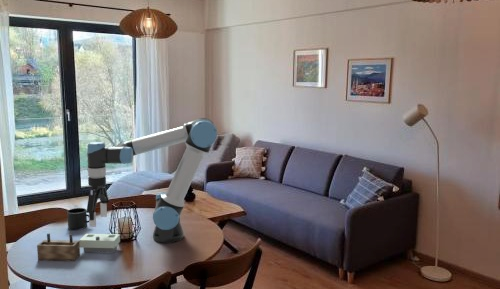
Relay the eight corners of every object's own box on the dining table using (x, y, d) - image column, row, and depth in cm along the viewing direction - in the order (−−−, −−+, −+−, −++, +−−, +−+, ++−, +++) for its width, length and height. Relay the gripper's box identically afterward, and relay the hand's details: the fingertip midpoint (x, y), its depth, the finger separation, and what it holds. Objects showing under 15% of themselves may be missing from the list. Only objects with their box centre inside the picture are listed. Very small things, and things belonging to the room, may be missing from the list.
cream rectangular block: (120, 241, 201) (119, 232, 200) (114, 248, 193) (113, 238, 192) (86, 240, 201) (85, 231, 200) (79, 247, 193) (78, 238, 192)
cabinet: (80, 255, 191) (78, 233, 190) (74, 261, 186) (73, 238, 184) (44, 254, 192) (43, 232, 190) (38, 260, 186) (36, 237, 184)
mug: (87, 230, 223) (87, 213, 221) (65, 229, 223) (64, 213, 221) (94, 224, 232) (93, 208, 230) (72, 223, 232) (71, 207, 230)
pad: (116, 249, 199) (116, 243, 199) (113, 252, 195) (113, 246, 195) (87, 248, 199) (86, 242, 199) (83, 251, 195) (83, 245, 195)
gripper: (99, 170, 204) (100, 212, 207) (77, 182, 179) (79, 230, 183) (114, 170, 204) (115, 213, 207) (94, 183, 179) (96, 231, 183)
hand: (98, 221), depth 195 cm, fingers open, 13 cm apart
